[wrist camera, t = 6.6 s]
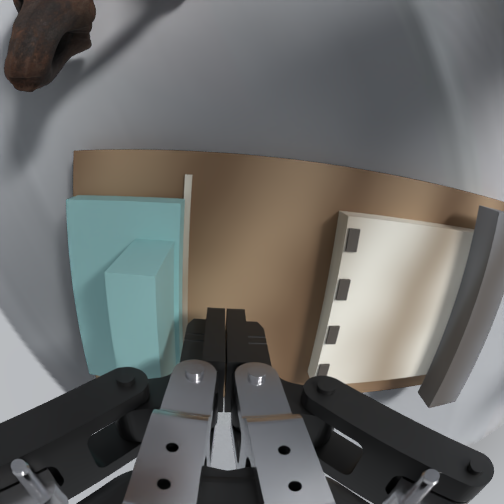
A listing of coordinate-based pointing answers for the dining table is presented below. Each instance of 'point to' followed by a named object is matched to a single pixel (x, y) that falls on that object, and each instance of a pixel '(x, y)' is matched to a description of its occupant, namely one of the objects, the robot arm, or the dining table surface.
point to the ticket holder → (328, 261)
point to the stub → (128, 280)
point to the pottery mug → (46, 39)
